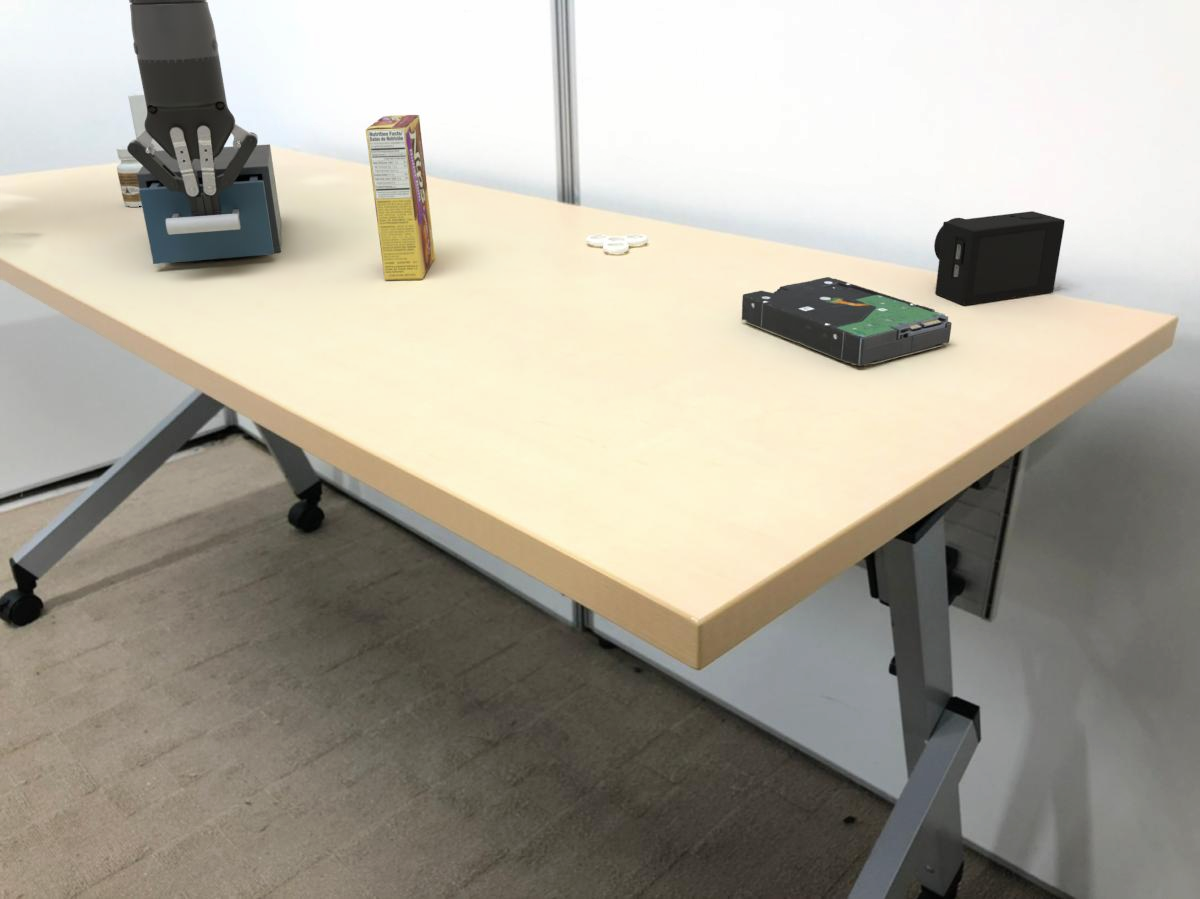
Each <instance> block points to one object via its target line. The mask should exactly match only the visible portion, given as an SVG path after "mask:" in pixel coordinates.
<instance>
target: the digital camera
mask: <svg viewBox="0 0 1200 899" xmlns="http://www.w3.org/2000/svg"><path fill="white" fill-rule="evenodd" d="M1065 221H1066V220H1065V219H1063V218H1060V217H1055V216H1052V215H1048V214H1045V213H1040V212H1036V211H1033V210H1031V211H1023V212H1013V213H1006V214H997V215H996V214H995V215H989V216H980V217H972V218H964V217H953V218H951V219H949V220H947V221H943V223H942V226H941V227H940V228H939V230H938V231H937V233H936V236H935V239H934V244H933V245H934V246H933V248H934V254H935V256H936V258H937V259H938V266H937V276H936V284H935V295H938V296H939V297H941V298H944V299H947V300H949V301H951V302H954V303H956V304H959V305H961V306H963V307H964V306H970V305H976V304H983V303H990V302H996V301H1004V300H1008V299H1017V298H1023V297H1029V296H1036V295H1042V294H1049V293H1054V291H1055V283H1056V277H1057V272H1058V266H1059V260H1060V254H1061V253H1060V252H1061V247H1062V241H1063V236H1064V235H1063V234H1064V229H1065Z"/></svg>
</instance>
